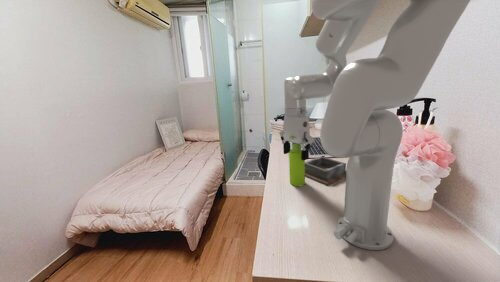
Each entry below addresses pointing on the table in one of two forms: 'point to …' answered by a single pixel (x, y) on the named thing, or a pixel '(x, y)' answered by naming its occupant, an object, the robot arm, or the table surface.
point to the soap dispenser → (296, 165)
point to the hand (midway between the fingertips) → (295, 156)
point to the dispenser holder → (325, 170)
